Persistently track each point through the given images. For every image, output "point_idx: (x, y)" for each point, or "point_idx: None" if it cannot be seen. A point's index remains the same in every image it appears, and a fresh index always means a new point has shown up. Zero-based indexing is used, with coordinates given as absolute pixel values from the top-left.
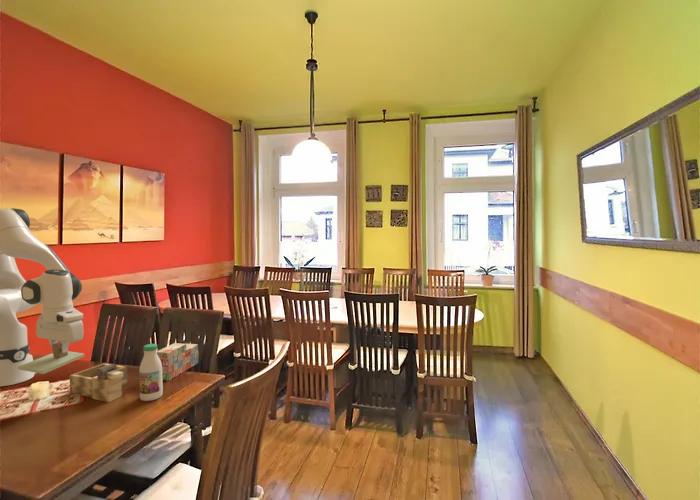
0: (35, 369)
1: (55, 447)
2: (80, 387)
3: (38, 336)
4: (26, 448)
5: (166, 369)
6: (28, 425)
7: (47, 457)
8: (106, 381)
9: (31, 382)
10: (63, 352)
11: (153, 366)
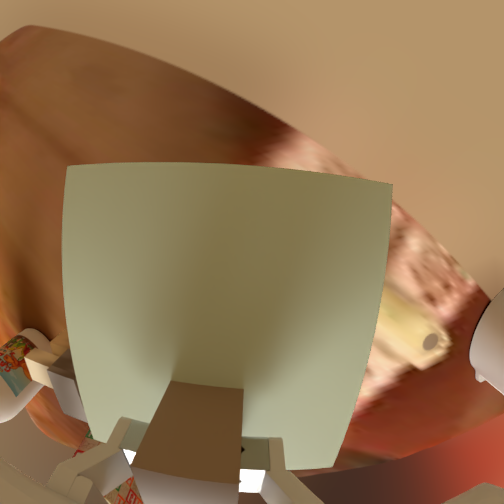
0: (154, 169)
1: (24, 101)
2: None
3: (479, 496)
4: (68, 66)
5: (85, 445)
6: (163, 119)
7: (17, 80)
8: (58, 343)
9: (455, 342)
10: (121, 417)
11: None
